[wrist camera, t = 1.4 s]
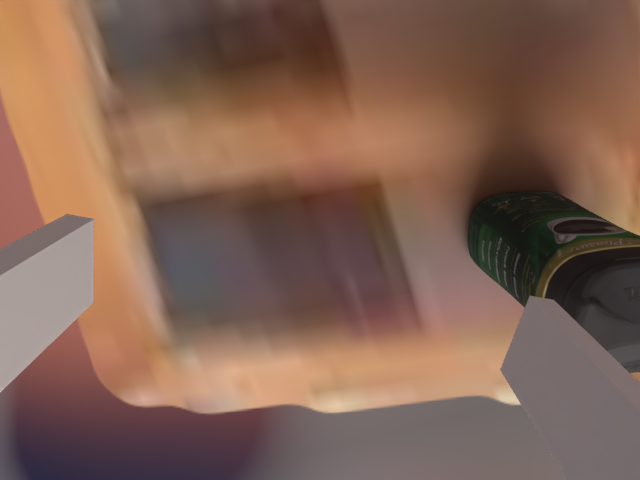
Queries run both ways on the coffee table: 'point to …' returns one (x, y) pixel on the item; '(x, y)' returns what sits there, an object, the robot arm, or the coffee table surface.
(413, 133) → the coffee table surface
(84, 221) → the robot arm
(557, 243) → the coffee jar
